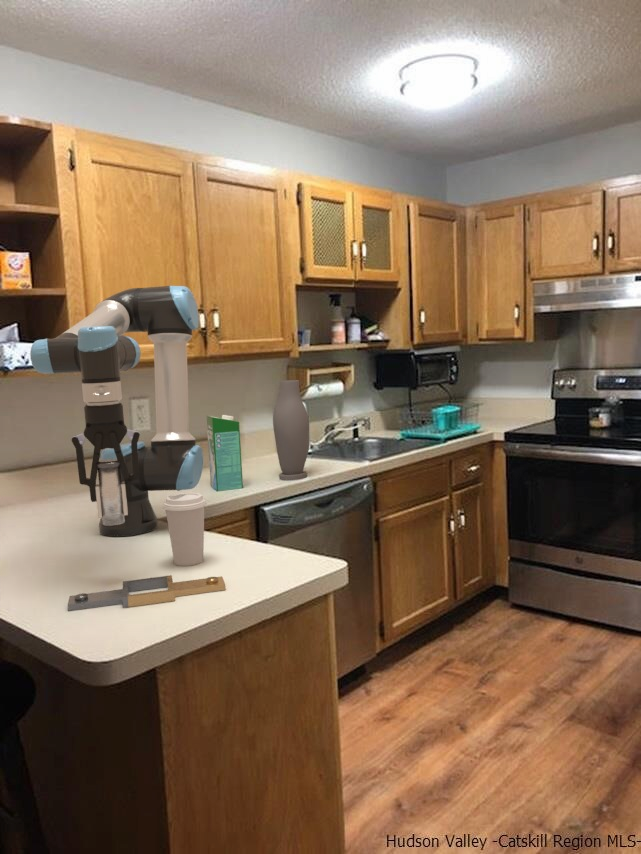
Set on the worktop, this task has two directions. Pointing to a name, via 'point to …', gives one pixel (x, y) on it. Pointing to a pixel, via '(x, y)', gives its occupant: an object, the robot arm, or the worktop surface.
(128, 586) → the link plate steel
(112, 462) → the pin
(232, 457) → the milk carton
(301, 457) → the vase
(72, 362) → the robot arm
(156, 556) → the worktop surface
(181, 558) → the coffee cup
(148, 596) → the link plate bronze
